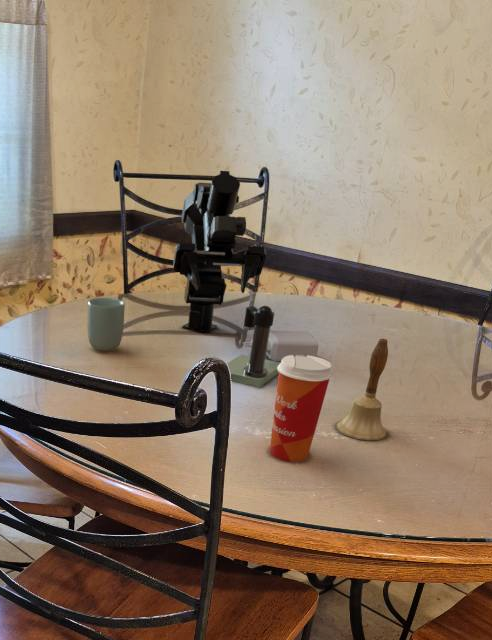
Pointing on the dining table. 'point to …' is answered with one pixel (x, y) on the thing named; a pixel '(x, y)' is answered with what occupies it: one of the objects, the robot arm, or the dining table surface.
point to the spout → (258, 317)
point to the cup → (105, 323)
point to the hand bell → (368, 403)
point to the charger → (289, 344)
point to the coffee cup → (298, 405)
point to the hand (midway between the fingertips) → (221, 290)
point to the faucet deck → (249, 380)
